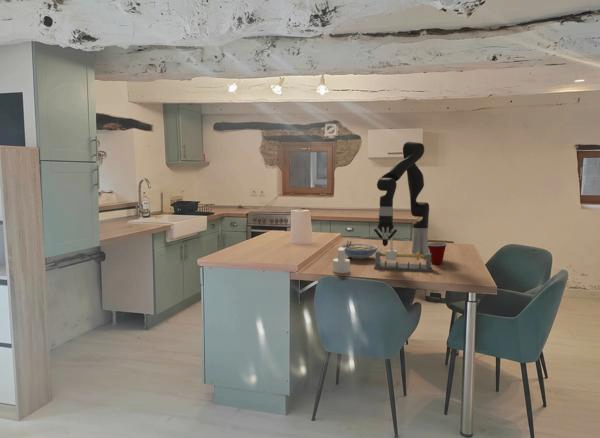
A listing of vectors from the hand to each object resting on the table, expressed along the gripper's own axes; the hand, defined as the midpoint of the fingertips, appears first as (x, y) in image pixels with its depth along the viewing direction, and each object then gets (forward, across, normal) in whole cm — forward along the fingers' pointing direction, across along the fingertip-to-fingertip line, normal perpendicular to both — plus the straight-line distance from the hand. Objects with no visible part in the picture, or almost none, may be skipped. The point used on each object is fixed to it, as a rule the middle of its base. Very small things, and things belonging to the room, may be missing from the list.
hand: (385, 245), depth 246 cm
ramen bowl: (+12, -16, +20) cm, 29 cm away
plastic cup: (+12, +28, +16) cm, 35 cm away
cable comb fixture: (+12, +10, 0) cm, 15 cm away
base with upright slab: (+12, -22, -15) cm, 29 cm away
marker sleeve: (+7, +3, 0) cm, 8 cm away
